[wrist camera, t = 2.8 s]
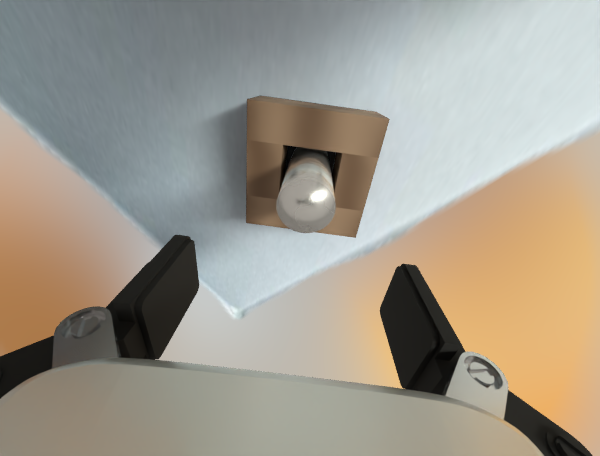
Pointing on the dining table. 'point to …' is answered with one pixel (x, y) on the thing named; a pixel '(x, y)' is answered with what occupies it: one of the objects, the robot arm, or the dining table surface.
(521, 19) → the dining table surface
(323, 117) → the socket
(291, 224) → the plug
